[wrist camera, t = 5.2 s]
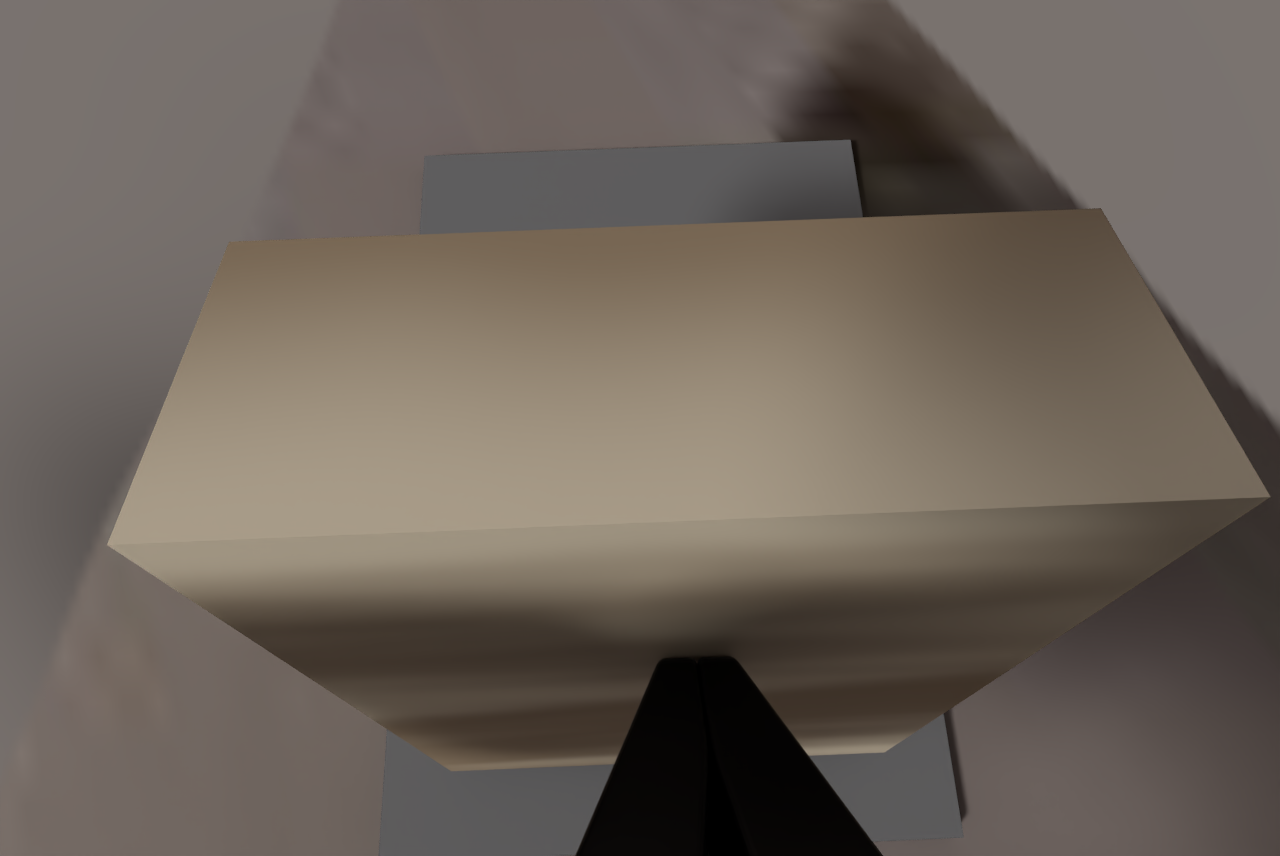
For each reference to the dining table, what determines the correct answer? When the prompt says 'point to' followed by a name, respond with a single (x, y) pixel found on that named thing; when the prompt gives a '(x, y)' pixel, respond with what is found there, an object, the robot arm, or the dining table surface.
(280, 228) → the dining table surface
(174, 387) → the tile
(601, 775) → the mat
